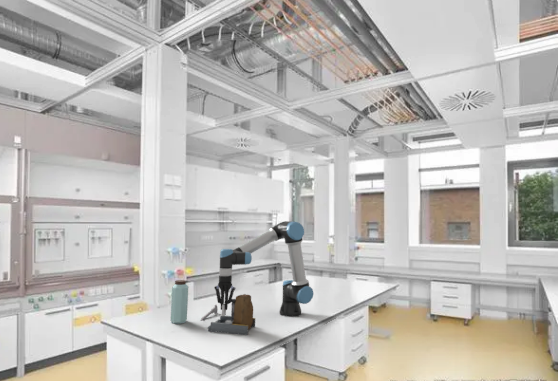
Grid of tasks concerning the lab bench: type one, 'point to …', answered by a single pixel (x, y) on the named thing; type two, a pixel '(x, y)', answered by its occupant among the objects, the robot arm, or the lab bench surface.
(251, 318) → the brown stone
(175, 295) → the water bottle
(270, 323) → the lab bench surface
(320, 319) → the lab bench surface
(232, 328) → the bay
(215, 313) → the caliper
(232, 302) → the bar
